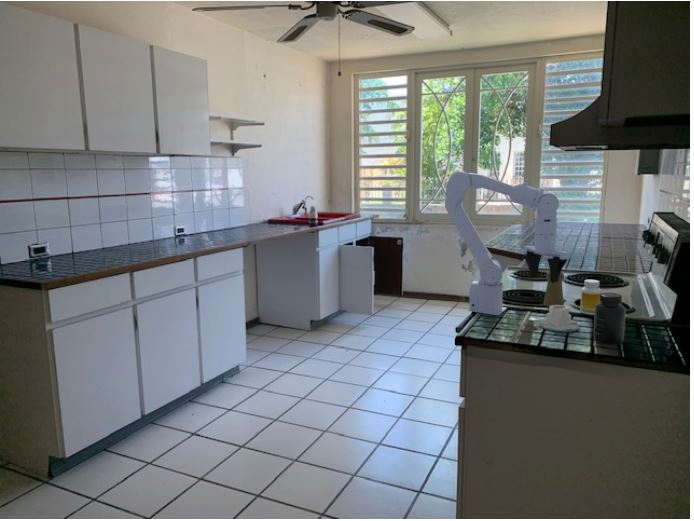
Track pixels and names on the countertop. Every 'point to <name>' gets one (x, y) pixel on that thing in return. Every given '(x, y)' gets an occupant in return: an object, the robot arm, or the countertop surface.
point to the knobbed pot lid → (554, 328)
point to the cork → (554, 291)
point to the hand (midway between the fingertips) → (543, 279)
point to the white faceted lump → (558, 315)
